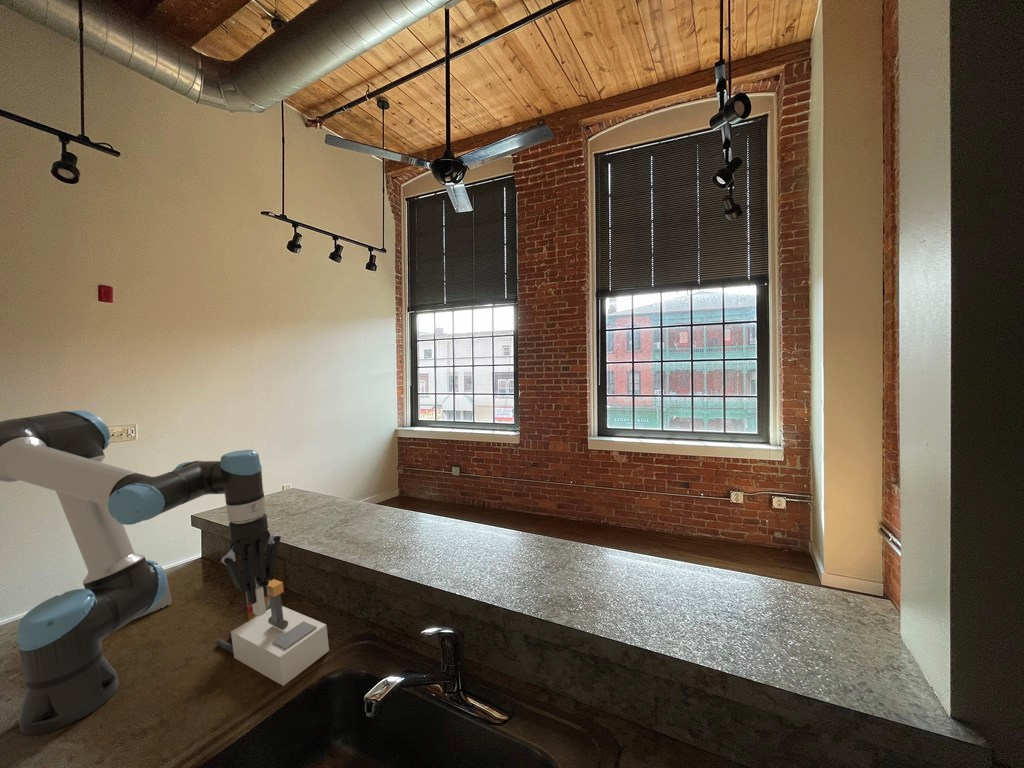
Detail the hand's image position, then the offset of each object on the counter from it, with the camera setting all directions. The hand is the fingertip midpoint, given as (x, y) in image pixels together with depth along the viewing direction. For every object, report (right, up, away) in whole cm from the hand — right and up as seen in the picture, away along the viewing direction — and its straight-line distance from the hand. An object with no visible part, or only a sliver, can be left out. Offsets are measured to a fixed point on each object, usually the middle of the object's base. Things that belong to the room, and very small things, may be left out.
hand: (259, 612), depth 100 cm
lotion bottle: (-9, -13, +16) cm, 22 cm away
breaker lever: (+2, -5, +4) cm, 7 cm away
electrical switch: (-49, -14, +27) cm, 58 cm away
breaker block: (+3, -13, +5) cm, 14 cm away
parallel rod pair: (-12, -13, +9) cm, 20 cm away
